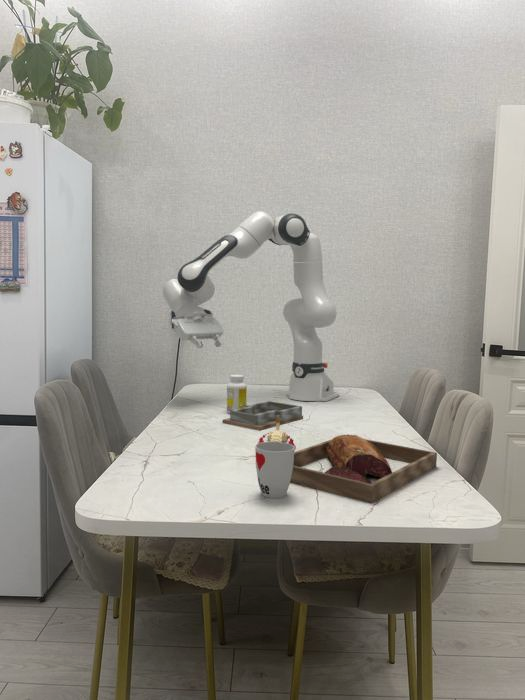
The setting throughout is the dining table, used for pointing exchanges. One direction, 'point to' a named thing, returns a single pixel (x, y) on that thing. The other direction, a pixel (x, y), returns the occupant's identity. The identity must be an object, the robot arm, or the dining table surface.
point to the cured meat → (356, 458)
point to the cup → (274, 467)
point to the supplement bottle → (236, 393)
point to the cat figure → (277, 434)
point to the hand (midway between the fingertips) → (210, 346)
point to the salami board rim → (357, 489)
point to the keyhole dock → (264, 415)
